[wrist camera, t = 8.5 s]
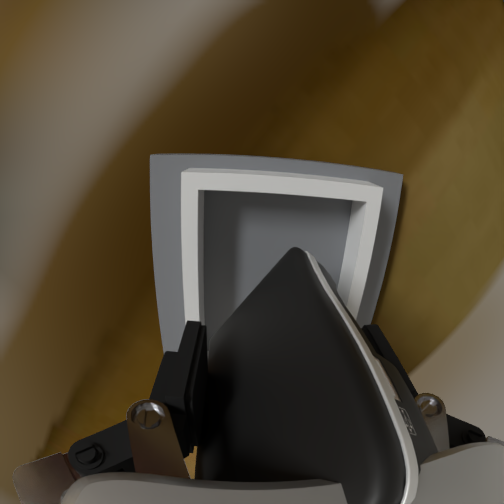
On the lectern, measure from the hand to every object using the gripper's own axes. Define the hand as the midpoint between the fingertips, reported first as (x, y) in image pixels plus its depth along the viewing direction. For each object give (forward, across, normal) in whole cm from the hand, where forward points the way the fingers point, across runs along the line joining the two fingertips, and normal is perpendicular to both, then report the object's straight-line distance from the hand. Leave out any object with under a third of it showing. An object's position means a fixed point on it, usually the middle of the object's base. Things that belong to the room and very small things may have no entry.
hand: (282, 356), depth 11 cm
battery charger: (+3, 0, 0) cm, 3 cm away
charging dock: (+7, 0, 0) cm, 7 cm away
